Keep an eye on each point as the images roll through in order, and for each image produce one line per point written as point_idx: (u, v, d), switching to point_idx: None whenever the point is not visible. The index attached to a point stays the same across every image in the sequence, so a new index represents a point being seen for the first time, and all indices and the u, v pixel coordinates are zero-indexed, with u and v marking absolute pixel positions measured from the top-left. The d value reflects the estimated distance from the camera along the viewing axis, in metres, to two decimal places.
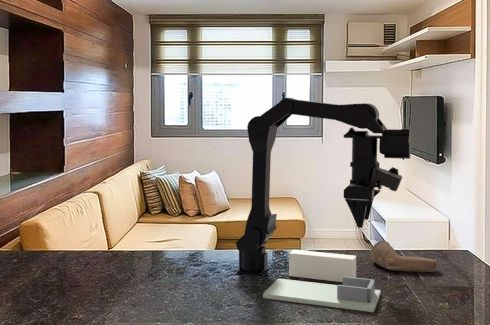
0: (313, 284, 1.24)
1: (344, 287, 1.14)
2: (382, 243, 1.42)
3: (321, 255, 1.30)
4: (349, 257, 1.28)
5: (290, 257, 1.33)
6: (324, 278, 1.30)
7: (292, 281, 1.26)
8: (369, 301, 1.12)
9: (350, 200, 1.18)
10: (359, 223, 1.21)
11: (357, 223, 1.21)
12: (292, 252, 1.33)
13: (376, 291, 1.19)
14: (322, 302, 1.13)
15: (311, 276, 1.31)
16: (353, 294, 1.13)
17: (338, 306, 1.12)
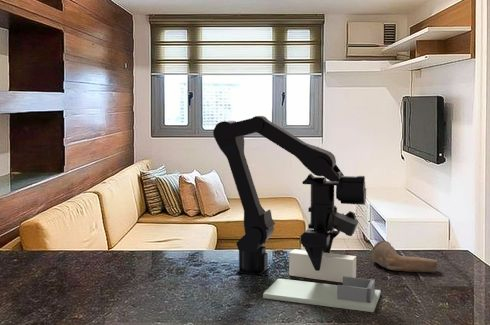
0: (313, 284, 1.24)
1: (344, 287, 1.14)
2: (383, 243, 1.42)
3: None
4: (349, 258, 1.28)
5: (290, 257, 1.33)
6: (324, 278, 1.30)
7: (292, 281, 1.26)
8: (369, 301, 1.12)
9: (307, 245, 1.24)
10: (317, 266, 1.27)
11: (314, 266, 1.27)
12: (292, 252, 1.34)
13: (376, 291, 1.19)
14: (322, 302, 1.13)
15: (311, 276, 1.31)
16: (353, 294, 1.13)
17: (338, 306, 1.12)
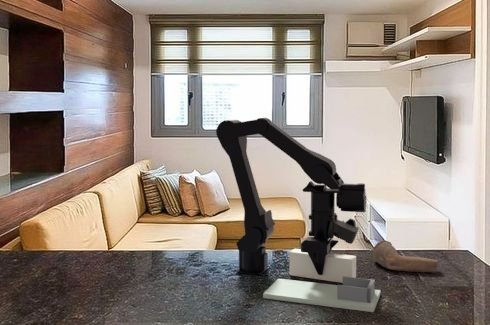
0: (313, 284, 1.24)
1: (344, 287, 1.14)
2: (384, 243, 1.42)
3: None
4: (348, 257, 1.28)
5: (290, 256, 1.33)
6: (323, 278, 1.30)
7: (292, 281, 1.26)
8: (369, 301, 1.12)
9: None
10: (320, 270, 1.30)
11: (317, 271, 1.30)
12: (293, 251, 1.34)
13: (376, 291, 1.19)
14: (322, 302, 1.13)
15: (311, 275, 1.31)
16: (353, 294, 1.13)
17: (338, 306, 1.12)
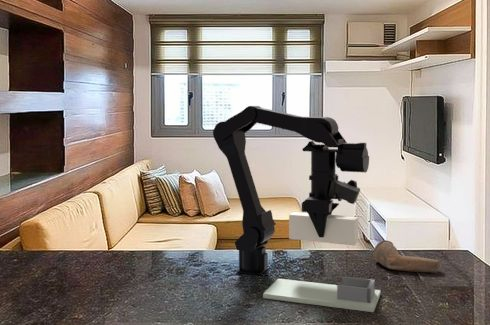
0: (313, 284, 1.24)
1: (344, 287, 1.14)
2: (385, 242, 1.42)
3: None
4: (350, 218, 1.24)
5: (290, 219, 1.29)
6: (325, 240, 1.26)
7: (292, 281, 1.26)
8: (369, 301, 1.12)
9: None
10: (321, 232, 1.26)
11: (318, 233, 1.26)
12: (292, 214, 1.30)
13: (376, 291, 1.19)
14: (322, 302, 1.13)
15: (311, 238, 1.27)
16: (353, 294, 1.13)
17: (338, 306, 1.12)
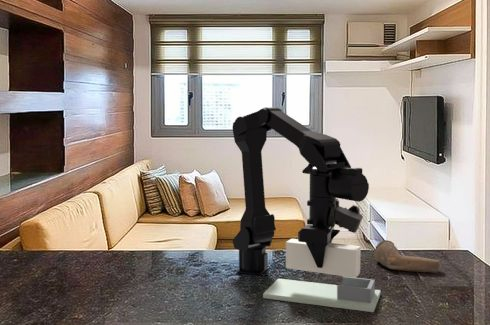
0: (313, 284, 1.24)
1: (344, 287, 1.14)
2: (385, 242, 1.42)
3: None
4: (352, 248, 1.14)
5: (287, 246, 1.20)
6: (324, 270, 1.16)
7: (292, 281, 1.26)
8: (369, 301, 1.12)
9: None
10: (319, 263, 1.16)
11: (317, 263, 1.16)
12: (289, 241, 1.20)
13: (376, 291, 1.19)
14: (322, 302, 1.13)
15: (310, 268, 1.18)
16: (353, 294, 1.13)
17: (338, 306, 1.12)
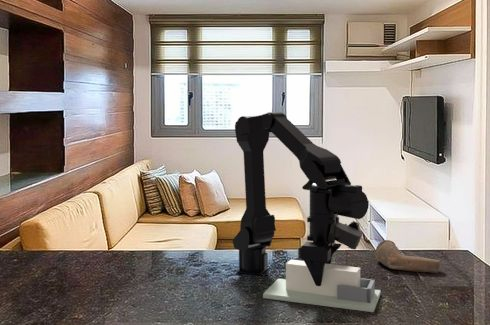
0: None
1: (344, 287, 1.14)
2: (386, 242, 1.43)
3: None
4: (352, 270, 1.15)
5: (287, 268, 1.20)
6: (324, 292, 1.17)
7: None
8: (369, 301, 1.12)
9: None
10: (318, 281, 1.15)
11: (315, 281, 1.15)
12: (289, 262, 1.21)
13: (376, 291, 1.19)
14: (322, 302, 1.13)
15: (310, 290, 1.18)
16: (353, 294, 1.13)
17: (338, 306, 1.12)
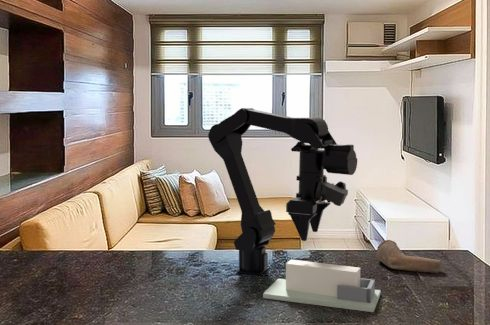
0: None
1: (344, 287, 1.14)
2: (388, 242, 1.43)
3: (321, 266, 1.17)
4: (352, 270, 1.15)
5: (287, 268, 1.20)
6: (324, 292, 1.17)
7: None
8: (369, 301, 1.12)
9: (293, 214, 1.20)
10: (303, 236, 1.23)
11: (301, 236, 1.23)
12: (289, 262, 1.21)
13: (376, 291, 1.19)
14: (322, 302, 1.13)
15: (310, 290, 1.18)
16: (353, 294, 1.13)
17: (338, 306, 1.12)
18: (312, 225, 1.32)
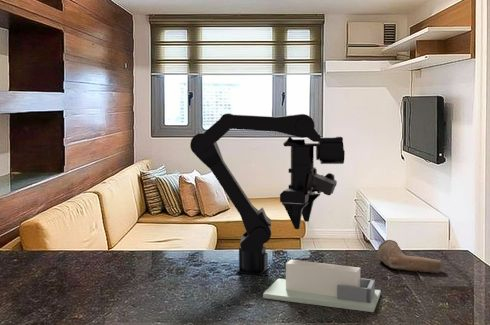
0: None
1: (344, 287, 1.14)
2: (389, 242, 1.43)
3: (321, 266, 1.17)
4: (352, 270, 1.15)
5: (287, 268, 1.20)
6: (324, 292, 1.17)
7: None
8: (369, 301, 1.12)
9: (286, 204, 1.28)
10: (296, 224, 1.31)
11: (294, 225, 1.31)
12: (289, 262, 1.21)
13: (376, 291, 1.19)
14: (322, 302, 1.13)
15: (310, 290, 1.18)
16: (353, 294, 1.13)
17: (338, 306, 1.12)
18: (304, 215, 1.40)
